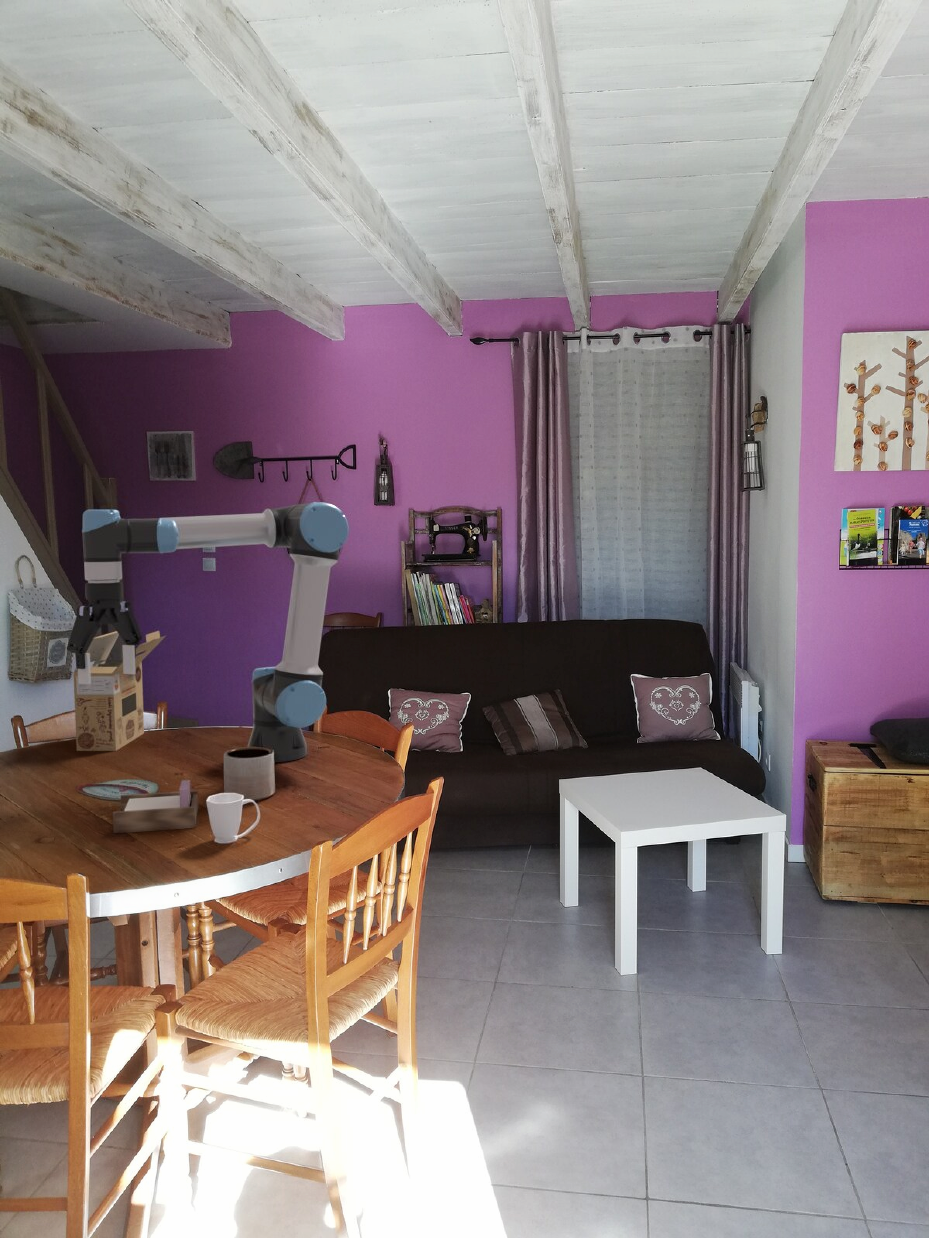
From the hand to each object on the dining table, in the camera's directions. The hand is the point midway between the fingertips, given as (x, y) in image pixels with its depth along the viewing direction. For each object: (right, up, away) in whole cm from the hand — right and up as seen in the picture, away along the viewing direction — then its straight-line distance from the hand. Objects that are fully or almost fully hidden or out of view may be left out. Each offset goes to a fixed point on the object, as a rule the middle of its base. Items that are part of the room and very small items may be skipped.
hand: (107, 678), depth 200 cm
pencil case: (+16, -27, -17) cm, 36 cm away
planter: (+31, -26, +1) cm, 40 cm away
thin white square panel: (+17, -25, -17) cm, 34 cm away
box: (-16, -21, +50) cm, 57 cm away
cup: (+34, -29, -27) cm, 52 cm away
